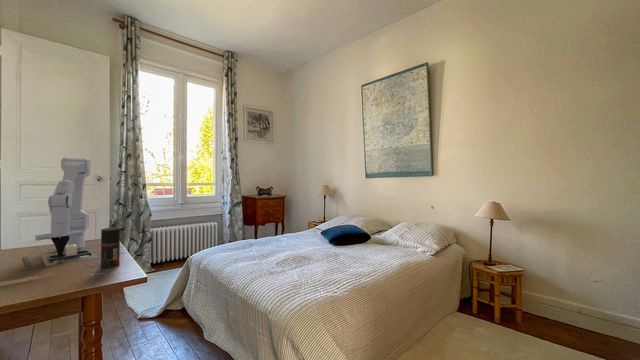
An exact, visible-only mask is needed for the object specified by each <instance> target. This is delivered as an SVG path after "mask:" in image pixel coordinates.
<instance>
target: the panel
mask: <svg viewBox="0 0 640 360" xmlns="http://www.w3.org/2000/svg"><path fill="white" fill-rule="evenodd" d="M40 258H41V259H42V261H43V262H44V265H45V267H51V266H55V265H60V264H61V265H62V264H67V263H72V262H79V261H85V260H92V259H97V258H99V256H98V255H97V254H96V252H94V251H92V250H91V249H90V248H89V247H88V248H82V249H81V248H80V249H77V255H71V256H65V251H63V255H60V256H58V253H57V252H55V253H48V254H47V253H46V254H40Z"/></svg>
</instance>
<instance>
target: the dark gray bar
mask: <svg viewBox="0 0 640 360" xmlns="http://www.w3.org/2000/svg"><path fill="white" fill-rule="evenodd" d="M22 261H23V263H24V266H25V268H28V267H31V266H32V264H31V262H30V260H29V257H28V256H24V257H22Z"/></svg>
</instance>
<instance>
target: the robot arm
mask: <svg viewBox="0 0 640 360" xmlns="http://www.w3.org/2000/svg"><path fill="white" fill-rule="evenodd" d="M60 168H61V170H62V172H63V176H62V179H61V181H58V183H57V185H56V188H55V189H54V193H53V194H52V195H50V196H49V197H48V202H47V204H48V208H49V210H48V211H49V213H50V233H43V234H37V235H34V237H35V238H34V240H35V241H36V242H38V241H42V240H43V241H44V240H51V241H52V243H53V245H54V247H55V249H56V253H58V256H60V255H63V252H65V246H66V245H70V244H76V245H77V249H81V248H82V249H83V248H84V247H85V236H86V235H85V232H86V230H87V229H89V227H90V214H88V212H86V211H84V210H83V200H84V188H85V181H86V177H89V176H90V174H91V160H90V159H89V158H77V157H75V158H74V157H62V159H61V160H60Z"/></svg>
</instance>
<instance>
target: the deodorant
mask: <svg viewBox="0 0 640 360" xmlns="http://www.w3.org/2000/svg"><path fill="white" fill-rule="evenodd" d="M100 232H101V233H100V269H103V270H107V269H114V268H117V267H120V258H121V257H120V256H121V255H120V254H121V253H120V250H121V249H120V246H121V244H120V243H121V242H120V241H121V235H120V234H121V228H120V227H106V228H102V229H100Z"/></svg>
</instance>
